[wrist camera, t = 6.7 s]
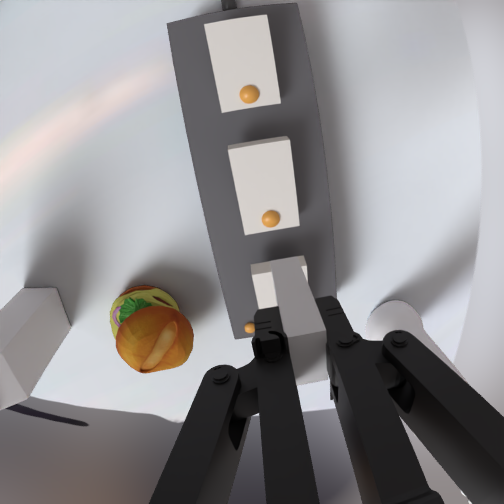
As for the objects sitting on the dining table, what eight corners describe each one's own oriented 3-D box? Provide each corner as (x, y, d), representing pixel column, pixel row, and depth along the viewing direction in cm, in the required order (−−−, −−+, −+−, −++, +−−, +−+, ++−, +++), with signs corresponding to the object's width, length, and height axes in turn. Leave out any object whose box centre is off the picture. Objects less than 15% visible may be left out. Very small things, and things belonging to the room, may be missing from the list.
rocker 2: (227, 145, 25) (227, 150, 24) (286, 135, 25) (290, 140, 24) (244, 227, 30) (245, 235, 28) (296, 218, 30) (299, 226, 28)
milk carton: (57, 286, 38) (-16, 376, 20) (72, 328, 40) (15, 422, 23) (22, 287, 38) (-49, 366, 20) (38, 326, 40) (-20, 409, 23)
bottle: (366, 349, 44) (441, 527, 16) (358, 309, 41) (457, 510, 13) (413, 330, 43) (508, 489, 15) (410, 288, 40) (535, 459, 12)
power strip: (169, -7, 24) (157, -28, 19) (278, -25, 24) (285, -48, 18) (235, 315, 40) (234, 343, 35) (327, 299, 40) (339, 325, 34)
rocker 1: (205, 25, 21) (203, 24, 19) (264, 16, 21) (267, 14, 19) (221, 109, 26) (221, 113, 24) (278, 100, 25) (281, 103, 24)
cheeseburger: (106, 275, 37) (94, 320, 28) (187, 272, 40) (197, 315, 31) (116, 338, 41) (112, 388, 32) (188, 335, 44) (199, 384, 35)
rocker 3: (250, 264, 29) (251, 276, 28) (303, 255, 29) (307, 266, 28) (262, 319, 34) (263, 331, 33) (306, 311, 34) (309, 322, 33)
